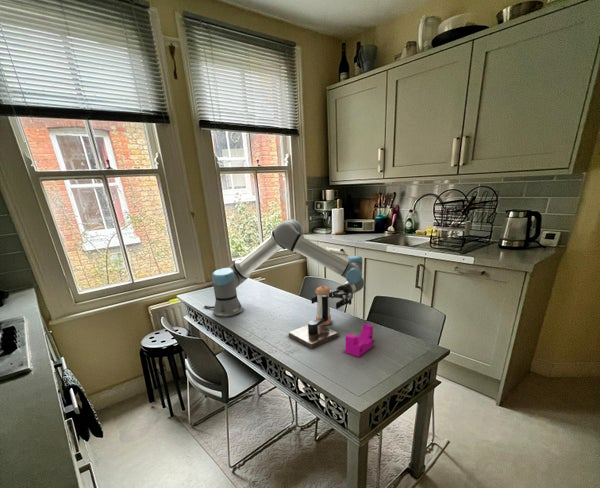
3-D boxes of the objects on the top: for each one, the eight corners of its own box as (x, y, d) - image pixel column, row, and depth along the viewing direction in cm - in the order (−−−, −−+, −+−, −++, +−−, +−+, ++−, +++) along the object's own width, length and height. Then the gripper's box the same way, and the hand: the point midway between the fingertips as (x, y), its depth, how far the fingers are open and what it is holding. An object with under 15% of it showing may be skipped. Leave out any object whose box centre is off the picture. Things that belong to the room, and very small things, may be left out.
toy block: (358, 356, 126) (358, 340, 123) (345, 352, 130) (345, 335, 127) (377, 342, 136) (378, 327, 133) (364, 338, 140) (365, 323, 137)
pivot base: (288, 336, 146) (288, 331, 145) (314, 325, 155) (314, 321, 154) (311, 348, 134) (311, 343, 133) (338, 336, 143) (338, 332, 142)
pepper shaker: (333, 321, 158) (333, 285, 150) (324, 326, 153) (323, 289, 145) (322, 318, 162) (321, 282, 154) (313, 322, 158) (312, 286, 150)
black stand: (313, 335, 141) (312, 304, 135) (306, 332, 144) (304, 302, 138) (330, 325, 149) (330, 295, 143) (323, 323, 152) (322, 294, 146)
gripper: (367, 301, 158) (347, 316, 143) (325, 293, 172) (302, 306, 157) (368, 287, 155) (347, 300, 140) (325, 280, 169) (302, 291, 154)
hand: (324, 303), depth 148 cm, fingers open, 13 cm apart
